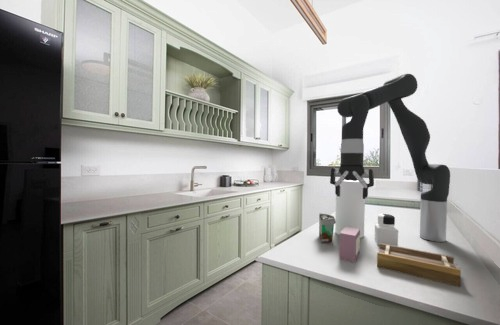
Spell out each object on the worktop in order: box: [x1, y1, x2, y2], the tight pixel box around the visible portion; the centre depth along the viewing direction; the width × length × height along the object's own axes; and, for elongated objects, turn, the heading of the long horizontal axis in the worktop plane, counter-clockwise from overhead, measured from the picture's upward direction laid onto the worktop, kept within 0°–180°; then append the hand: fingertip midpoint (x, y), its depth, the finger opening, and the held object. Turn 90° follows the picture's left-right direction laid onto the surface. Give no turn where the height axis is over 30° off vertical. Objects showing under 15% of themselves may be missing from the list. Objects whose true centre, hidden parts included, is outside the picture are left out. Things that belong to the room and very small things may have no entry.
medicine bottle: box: [374, 213, 399, 246], centre depth 95 cm, size 7×7×12 cm
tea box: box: [338, 226, 361, 263], centre depth 83 cm, size 10×5×9 cm, turn 146°
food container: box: [318, 212, 336, 244], centre depth 99 cm, size 12×6×10 cm, turn 168°
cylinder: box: [334, 179, 366, 239], centre depth 108 cm, size 12×12×25 cm
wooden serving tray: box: [376, 243, 462, 287], centre depth 73 cm, size 11×20×4 cm, turn 56°
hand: (350, 197), depth 82 cm, fingers open, 8 cm apart
